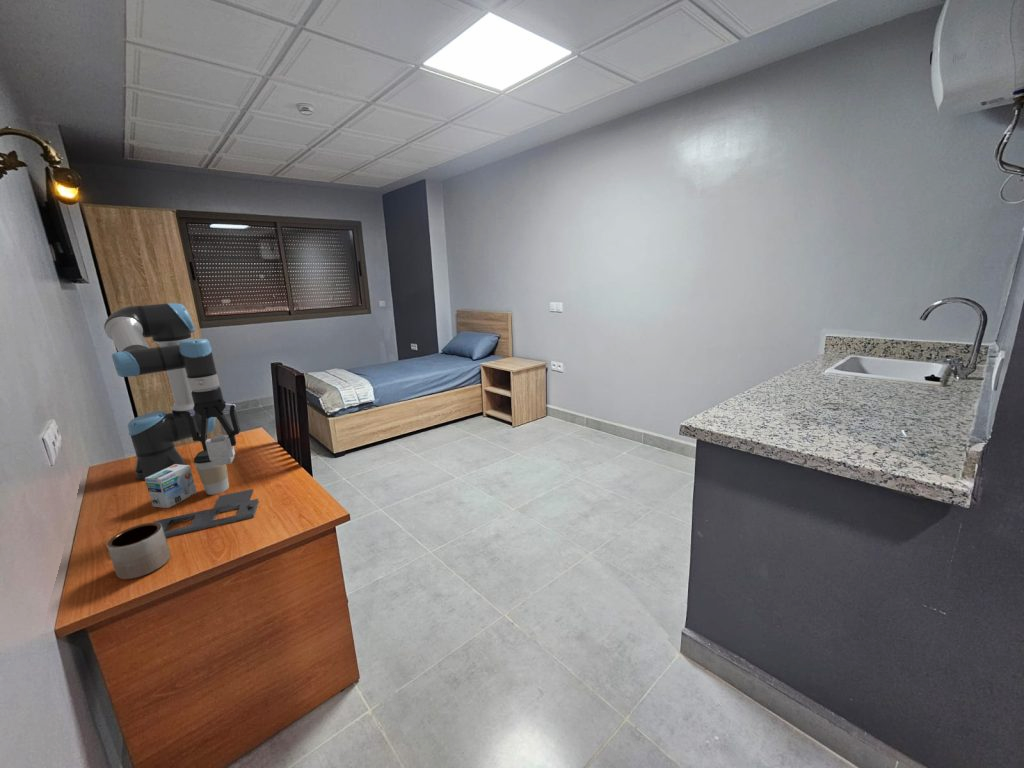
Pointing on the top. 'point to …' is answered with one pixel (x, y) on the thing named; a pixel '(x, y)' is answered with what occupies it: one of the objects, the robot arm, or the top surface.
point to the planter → (139, 550)
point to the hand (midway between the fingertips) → (222, 456)
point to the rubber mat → (234, 498)
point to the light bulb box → (171, 485)
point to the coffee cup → (211, 474)
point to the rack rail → (209, 518)
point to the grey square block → (219, 450)
